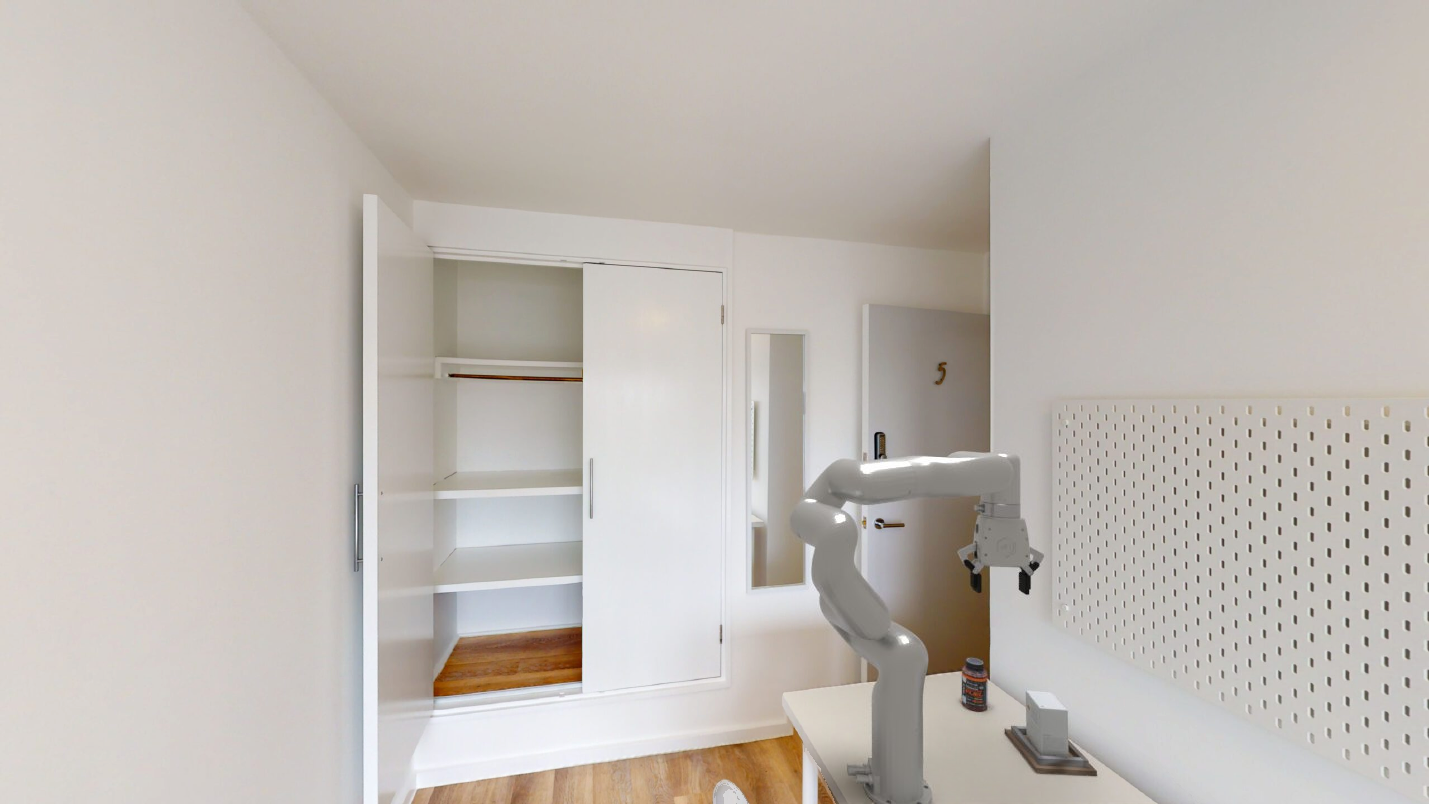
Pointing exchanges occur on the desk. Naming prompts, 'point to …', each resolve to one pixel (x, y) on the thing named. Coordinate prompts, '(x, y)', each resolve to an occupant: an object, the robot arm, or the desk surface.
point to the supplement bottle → (974, 685)
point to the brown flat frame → (1049, 764)
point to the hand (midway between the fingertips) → (1000, 592)
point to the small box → (1046, 724)
